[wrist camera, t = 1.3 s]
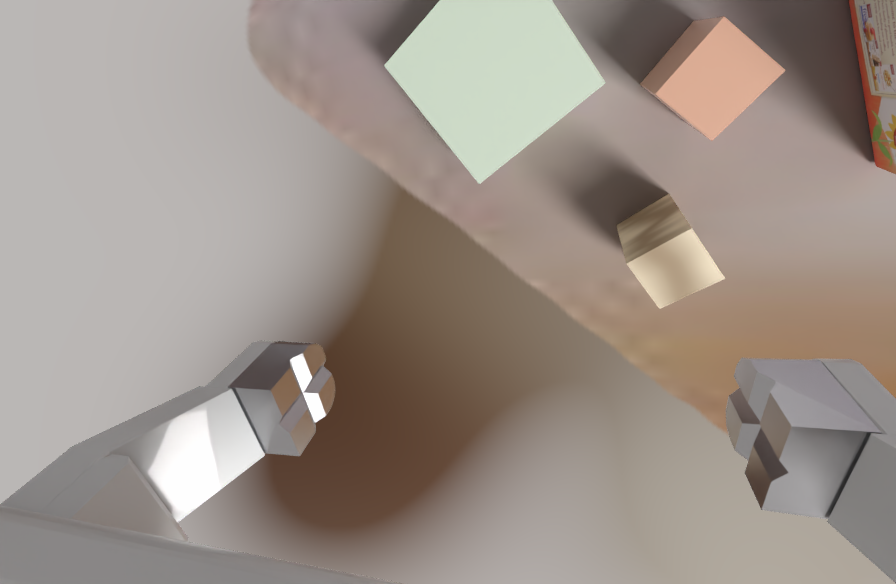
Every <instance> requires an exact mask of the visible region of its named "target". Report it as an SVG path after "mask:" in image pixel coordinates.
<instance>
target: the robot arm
mask: <svg viewBox="0 0 896 584" xmlns="http://www.w3.org/2000/svg"><path fill="white" fill-rule="evenodd" d="M325 360H326V356H325V354H324V351H323V349H322V346H320V345H318V344H316V343H302V342H285V341H257V342H253V343H251V344H250V345H249V346H248V348H246V349H245V350H244V351H243V352H242V353H241V354H240V355H239V356H238V357H237V358H235V359H234V360H233V361H232V362H231V363H230V364H229V365H228V366H227V367H226V368H225V369H224V370H223V371H222V372H220V373H219V374H218V375H217V376H216V377H215V378H214V379H213V380H212V381H211V382H210V383H209V384H208V385H206V386H205V387H201V386H199V387H197V388H195V389H193V390H191V391H189V392H186V393H184V394H182V395H180V396H178V397H176V398H174V399H172V400H169V401H167V402H165V403H163V404H161V405H159V406H157V407H155V408H152V409H150V410H148V411H146V412H144V413H142V414H140V415H138V416H136V417H133V418H132V419H129V420H127V421H125V422H123V423H121V424H119V425H117V426H114V427H112V428H110V429H108V430H106V431H104V432H102V433H100V434H97V435H95V436H93V437H91V438H89V439H87V440H85V441H83V442H81V443H78V444H76V445H74V446H72V447H71V448H69V449H68V450H67V451H66V452H65V453H63V454H62V455H61V456H60V457H58V458H57V459H56V460H55V461H54V462H52V463H51V464H50V465H48V466H47V467H46V468H45V469H43V470H42V471H41V472H40V473H39V474H37V475H36V476H35V477H34V478H32V479H31V480H30V481H29V482H27V483H26V484H25V485H24V486H22V487H21V488H20V489H19V490H17V491H16V492H15V493H14V494H13V495H11V496H10V497H9V498H8V499H7V500H5V501H4V502H3V503H1V504H0V584H402V583H397V582H392V581H387V580H382V579H377V578H372V577H367V576H361V575H356V574H351V573H346V572H341V571H336V570H331V569H325V568H320V567H315V566H310V565H305V564H300V563H295V562H290V561H285V560H279V559H274V558H269V557H264V556H259V555H253V554H249V553H244V552H238V551H233V550H228V549H223V548H218V547H213V546H208V545H203V544H198V543H192V542H188V537H187V535H186V534H185V532H184V531H183V530H182V528H181V527H180V526H179V524H178V522H179V521H180V520H182V519H183V518H184V517H186V516H187V515H188V514H189V513H191V512H192V511H193V510H195V509H196V508H197V507H199V506H200V505H201V504H202V503H204V502H205V501H206V500H207V499H209V498H210V497H211V496H213V495H214V494H215V493H217V492H218V491H219V490H221V489H222V488H223V487H224V486H225V485H227V484H228V483H230V482H231V481H232V480H233V479H235V478H236V477H237V476H239V475H240V474H241V473H243V472H244V471H245V470H246V469H248V468H249V467H250V466H251V465H253V464H254V463H255V462H257V461H258V460H259V459H261V458H262V457H263V456H264V455H265V454H264V453H270V454H282V455H294V456H300V455H301V453H302V452H303V450H304V449H305V447H306V446H307V444H308V443H309V441H310V439H311V438H312V437H313V435H314V433H315V432H316V428H315V422H317V421H318V420H320V419H321V418H323V417H324V416H326V415H327V413H328V411H329V410H330V408H331V406H332V403H333V400H334V396H335V383H334V379H333V376H332V374H331V373H330V372H329V371H328V370H327V369H326V368H324V366H323V364H324V363H325ZM734 377H735V379H736V381H737V383H738V385H739V387H740V388H739V389H737V390H736V391H735V392H733V393H732V394H731V395H729V398H728V403H727V408H726V424H727V430H728V434H729V437H730V440H731V442H732V445H733V447H734V449H735V451H736V452H738V453H739V454H740V455H742V456H743V457H744V458H745V459H747V460H748V464H747V467H746V470H745V475H746V477H747V479H748V481H749V483H750V486H751V488H752V490H753V492H754V494H755V497H756V499H757V501H758V503H759V505H760V508H761V510H767V511H774V512H781V513H788V514H795V515H803V516H809V517H817V518H824V519H828V521H827V522H828V523H829V524H830V525H831V526H832V527H834V528H835V529H836V530H837V531H838V532H839V533H840V534H841V535H842V536H844V537H845V538H846V539H847V540H848V541H849V542H850V543H851V544H852V545H854V546H855V547H856V548H857V549H858V550H859V551H860V552H862V554H864V555H865V556H866V557H867V558H868V559H869V560H870V561H871V562H873V563H874V564H875V565H876V566H877V567H878V568H879V569H880V570H881V571H883V572H884V573H885V574H886V575H887V576H888V577H889V578H891V579H892V580H893V581H894V582H895V583H896V399H895V398H894V397H893V396H892V395H891V394H890V393H889V392H888V391H887V390H886V389H885V388H884V387H883V385H882V384H881V383H880V382H879V381H878V380H877V379H876V378H875V377H874V376H873V375H872V374H871V373H870V372H869V371H868V370H867V369H866V368H865V367H864V366H863V365H862V364H860V363H859V362H856V361H854V360H852V359H812V360H802V359H768V358H741V360H740V361H739V362H738V364H737V367H736V370H735V374H734Z"/></svg>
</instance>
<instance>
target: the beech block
mask: <svg viewBox="0 0 896 584" xmlns="http://www.w3.org/2000/svg"><path fill="white" fill-rule="evenodd" d="M616 226H617V230H618V234H619V237H620V241H621V245H622V249H623V252H624V256H625V260H626V264H627V265H628V266H629V268H630V269H631V271H632V272H633V273H634V275H635V276H636V277H637V279H638V280H639V281H640V283H641V284H642V286H643V287H644V288H645V290H646V291H647V292H648V294H649V295H650V296H651V298H652V299H653V301H654V302H655V303H656V305H657V306H658V307H659V309H661V308H663V307H665V306H667V305H669V304H671V303H674V302H676V301H678V300H680V299H682V298H684V297H687V296H689V295H691V294H693V293H695V292H697V291H699V290H702V289H704V288H706V287H708V286H710V285H712V284H715V283H717V282H719V281H721V280H723V279H725V278H724V276H723V275H722V273H721V272H720V270H719V269H718V267H717V266H716V264H715V263H714V261H713V260H712V258H711V257H710V255H709V254H708V252H707V250H706V249H705V247H704V246H703V244H702V243H701V241H700V240H699V238H698V237H697V235H696V234H695V232H694V231H693V229H692V228H691V226H690V225H689V223H688V222H687V220H686V219H685V217H684V216H683V214H682V213H681V211H680V210H679V208H678V207H677V205H676V203H675V202H674V200H673V199H672V197H671V196H670V194H668V195H666V196H664V197H663V198H661V199H659V200H658V201H656V202H654V203H653V204H651V205H649V206H648V207H646V208H644V209H643V210H641V211H639V212H638V213H636V214H634V215H633V216H631V217H629V218H628V219H626V220H624V221H623V222H621V223H619V224H618V225H616Z"/></svg>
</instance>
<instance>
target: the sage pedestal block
mask: <svg viewBox="0 0 896 584" xmlns="http://www.w3.org/2000/svg"><path fill="white" fill-rule="evenodd" d="M384 66H385V67H386V69H387V70H388V71H389V72H390V74H391V75H392V76H393V77H394V79H395V80H396V81H397V82H398V84H399V85H400V86H401V87H402V89H403V90H404V91H405V92H406V94H407V95H408V96H409V97H410V99H411V100H412V101H413V102H414V104H415V105H416V106H417V107H418V109H419V110H420V111H421V112H422V114H423V115H424V116H425V117H426V119H427V120H428V121H429V122H430V123H431V125H432V126H433V127H434V128H435V130H436V131H437V132H438V133H439V135H440V136H441V137H442V138H443V140H444V141H445V142H446V143H447V145H448V146H449V147H450V148H451V150H452V151H453V152H454V153H455V155H456V156H457V157H458V158H459V160H460V161H461V162H462V163H463V165H464V166H465V167H466V168H467V170H468V171H469V172H470V173H471V174H472V176H473V177H474V178H475V179H476V181H477V182H478V183H479V184H480V183H481V182H482V181H484V180H485V179H486V178H487V177H489V176H490V175H491V174H492V173H494V172H495V171H496V170H497V169H499V168H500V167H501V166H502V165H504V164H505V163H506V162H507V161H509V160H510V159H511V158H512V157H514V156H515V155H516V154H518V153H519V152H520V151H521V150H523V149H524V148H525V147H526V146H528V145H529V144H530V143H531V142H533V141H534V140H535V139H536V138H538V137H539V136H540V135H541V134H543V133H544V132H545V131H546V130H548V129H549V128H550V127H551V126H553V125H554V124H555V123H556V122H558V121H559V120H560V119H561V118H563V117H564V116H565V115H566V114H568V113H569V112H570V111H571V110H573V109H574V108H575V107H576V106H578V105H579V104H580V103H581V102H583V101H584V100H585V99H586V98H588V97H589V96H590V95H591V94H593V93H594V92H595V91H596V90H598V89H599V88H600V87H601V86H603V85H604V84H605V81H604V80H603V78H602V77H601V75H600V73H599V72H598V70H597V69H596V67H595V66H594V64H593V63H592V61H591V60H590V58H589V57H588V55H587V53H586V52H585V50H584V49H583V47H582V46H581V44H580V43H579V41H578V40H577V38H576V37H575V35H574V34H573V32H572V30H571V29H570V27H569V26H568V24H567V23H566V21H565V20H564V18H563V17H562V15H561V14H560V12H559V11H558V9H557V7H556V6H555V4H554V3H553V1H552V0H440V1H439V2H438V3H437V4H436V5H435V7H434V8H433V9H432V10H431V11H430V12H429V14H428V15H427V16H426V17H425V18H424V19H423V21H422V22H421V23H420V24H419V25H418V26H417V28H416V29H415V30H414V31H413V32H412V33H411V35H410V36H409V37H408V38H407V39H406V40H405V42H404V43H403V44H402V45H401V46H400V47H399V49H398V50H397V51H396V52H395V53H394V54H393V56H392V57H391V58H390V59H389V60H388V61H387V63H386V64H385V65H384Z"/></svg>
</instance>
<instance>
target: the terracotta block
mask: <svg viewBox="0 0 896 584" xmlns="http://www.w3.org/2000/svg"><path fill="white" fill-rule="evenodd" d="M784 71H785V69H784V68H782V67H781V66H780V65H779V64H778V63H777V62H776V61H774V60H773V59H772V58H771V57H770V56H769V55H768V54H766V53H765V52H764V51H763V50H762V49H761V48H760V47H758V46H757V45H756V44H755V43H754V42H753V41H752V40H750V39H749V38H748V37H747V36H746V35H745V34H744V33H743V32H741V31H740V30H739V29H738V28H737V27H736V26H735V25H733V24H732V23H731V22H730V21H729V20H728V19H727V18H725V17H724V16H723V17H717V18H710V19H703V20H696V21H693V22H692V23H691V25H690V26H689V27H688V28H687V29H686V30H685V32H684V33H683V34H682V35H681V36H680V38H679V39H678V40H677V41H676V42H675V43H674V45H673V46H672V47H671V48H670V49H669V50H668V52H667V53H666V54H665V55H664V56H663V58H662V59H661V60H660V61H659V62H658V63H657V65H656V66H655V67H654V68H653V69H652V70H651V72H650V73H649V74H648V75H647V76H646V77H645V79H644V80H643V81H642V82H641V83H640V85H641V86H642V87H643V88H645V89H646V90H647V91H648V92H649V93H651V94H652V95H653V96H654V97H655V98H657V99H658V100H659V101H660V102H662V103H663V104H664V105H665V106H666V107H668V108H669V109H670V110H671V111H672V112H674V113H675V114H676V115H677V116H678V117H680V118H681V119H682V120H683V121H685V122H686V123H687V124H688V125H690V126H691V127H693V128H694V129H696V130H697V131H698V132H700V133H701V134H703V135H704V136H706V137H707V138H708V139H710V140H711V141H713V140H714V139H715V138H716V137H717V136H718V135H719V134H720V133H721V132H722V131H723V130H724V129H725V128H726V127H727V126H728V125H729V124H730V123H731V122H732V121H733V120H734V119H735V118H736V117H738V116H739V115H740V114H741V113H742V112H743V111H744V110H745V109H746V108H747V107H748V106H749V105H750V104H751V103H752V102H753V101H754V100H755V99H756V98H757V97H758V96H759V95H760V94H761V93H763V92H764V91H765V90H766V89H767V88H768V87H769V86H770V85H771V84H772V83H773V82H774V81H775V80H776V79H777V78H778V77H779V76H780V75H781V74H782V73H783V72H784Z"/></svg>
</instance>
